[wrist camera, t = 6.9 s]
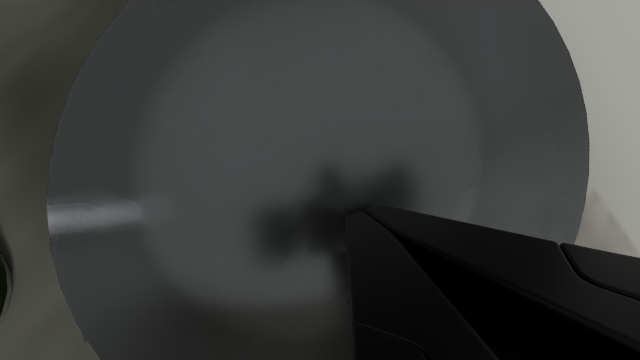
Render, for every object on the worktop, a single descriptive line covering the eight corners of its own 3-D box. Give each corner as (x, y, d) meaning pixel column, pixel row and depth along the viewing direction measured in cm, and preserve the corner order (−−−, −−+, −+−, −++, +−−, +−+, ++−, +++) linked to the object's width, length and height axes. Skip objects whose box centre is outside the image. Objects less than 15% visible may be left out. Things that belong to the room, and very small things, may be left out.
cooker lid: (565, 317, 11) (596, 338, 10) (190, 481, 10) (187, 525, 9) (525, -287, 7) (571, -344, 6) (-162, -203, 5) (-242, -263, 4)
